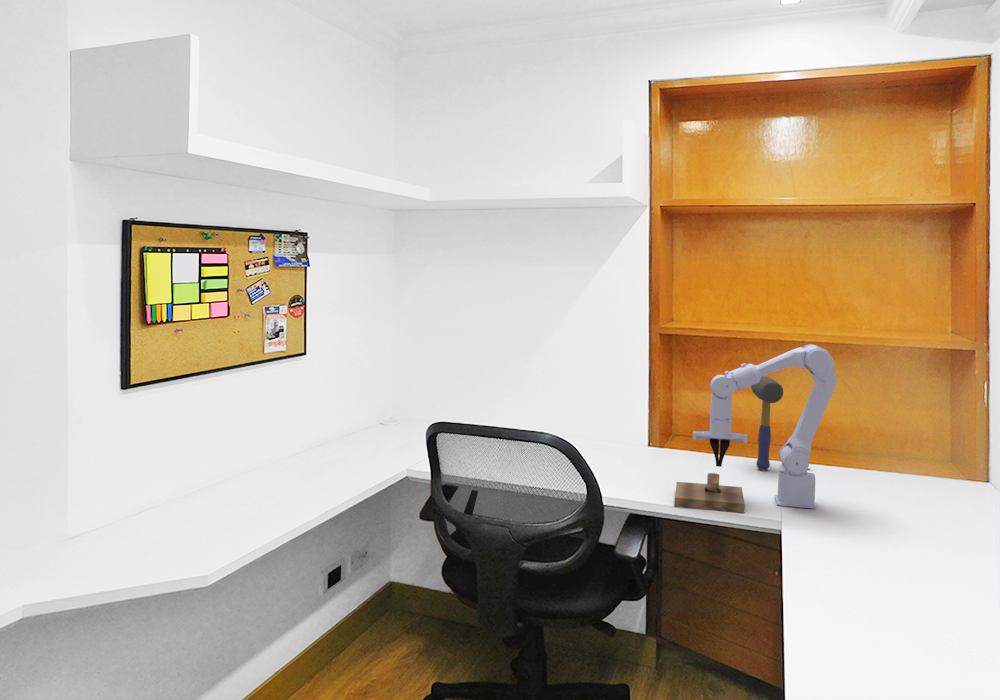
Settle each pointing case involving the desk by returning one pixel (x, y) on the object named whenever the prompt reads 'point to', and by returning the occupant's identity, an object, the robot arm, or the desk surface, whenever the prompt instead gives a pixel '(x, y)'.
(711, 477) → the peg
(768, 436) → the rubber mallet
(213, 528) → the desk surface
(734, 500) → the board
